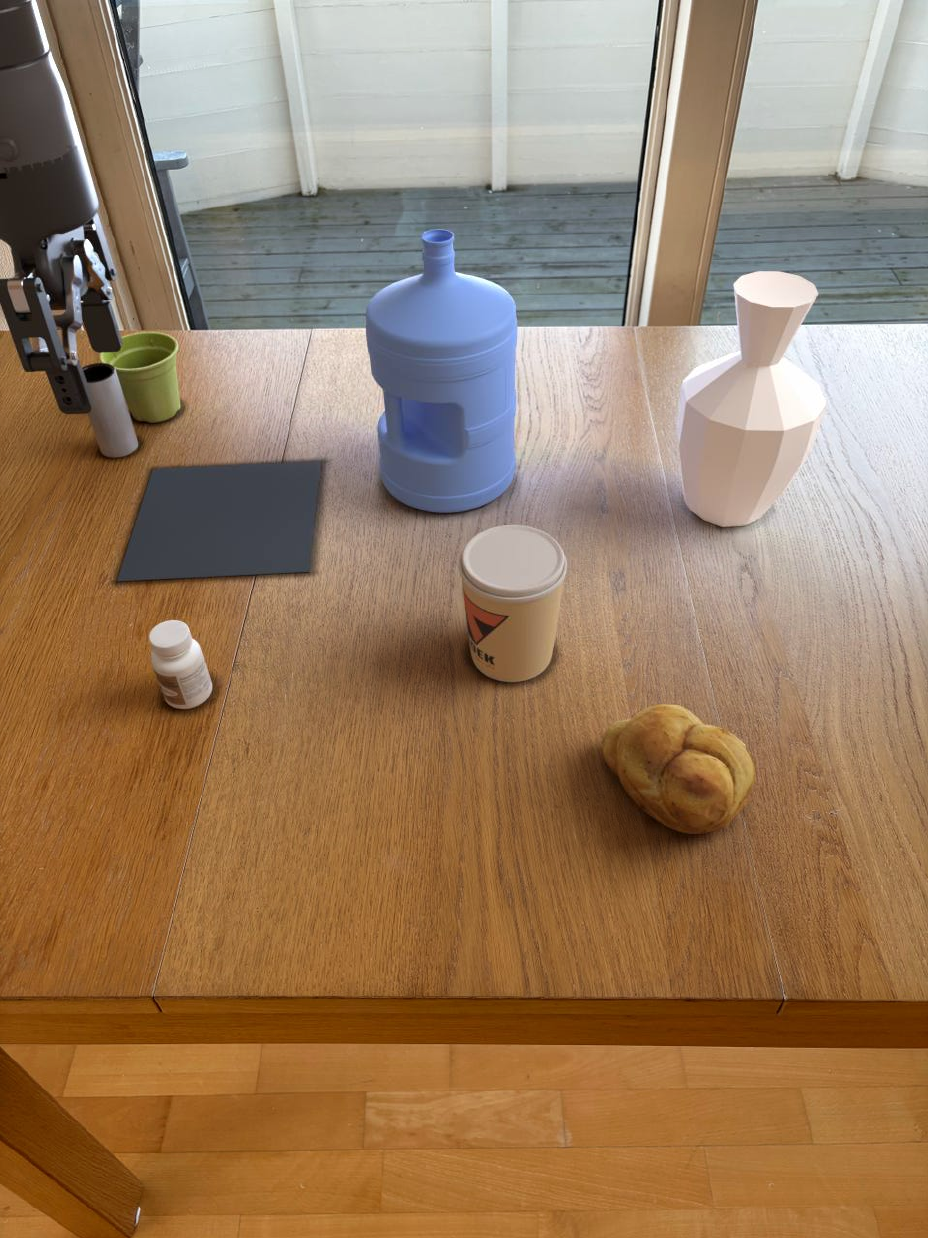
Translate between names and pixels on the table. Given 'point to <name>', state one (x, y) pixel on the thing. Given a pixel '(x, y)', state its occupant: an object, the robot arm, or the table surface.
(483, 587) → the coffee cup
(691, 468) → the vase
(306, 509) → the mat
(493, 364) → the water jug
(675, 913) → the table surface
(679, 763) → the bread roll
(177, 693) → the pill bottle
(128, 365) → the plant pot
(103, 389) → the white cylinder
